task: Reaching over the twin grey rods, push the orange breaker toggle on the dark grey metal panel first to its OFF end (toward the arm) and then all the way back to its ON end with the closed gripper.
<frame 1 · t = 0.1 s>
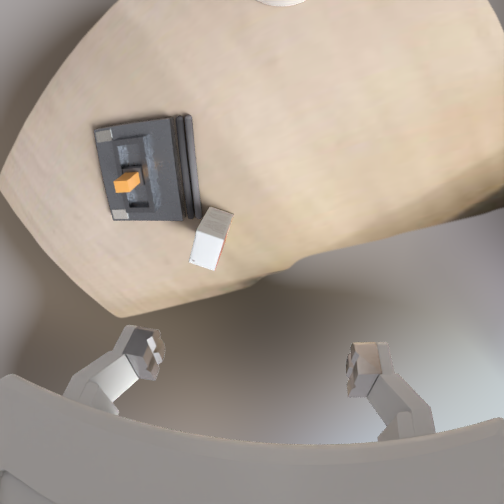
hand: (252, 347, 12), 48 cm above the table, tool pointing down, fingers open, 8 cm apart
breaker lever: (129, 180, 55), point 5 cm above the table, slide at 5.0 cm
twin grey rods: (190, 168, 58), on the table
breaker panel: (140, 171, 59), on the table
small box: (217, 224, 65), on the table
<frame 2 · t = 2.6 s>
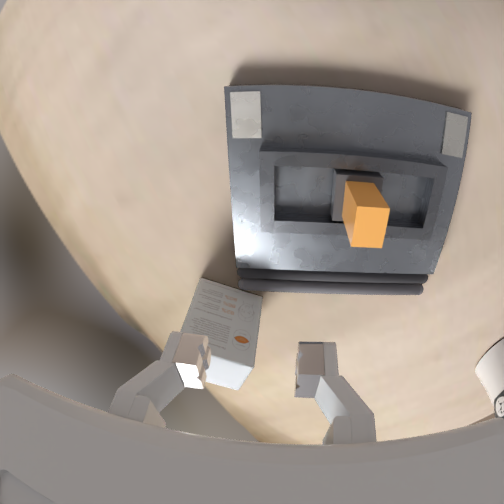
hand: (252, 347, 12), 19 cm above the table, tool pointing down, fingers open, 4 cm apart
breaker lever: (361, 208, 22), point 5 cm above the table, slide at 5.0 cm
twin grey rods: (336, 277, 33), on the table
breaker panel: (349, 182, 27), on the table
small box: (227, 300, 37), on the table
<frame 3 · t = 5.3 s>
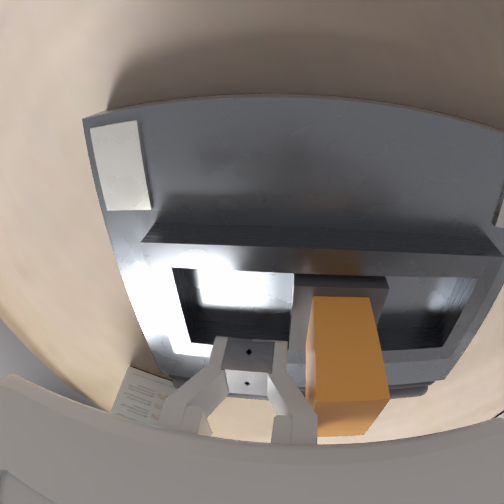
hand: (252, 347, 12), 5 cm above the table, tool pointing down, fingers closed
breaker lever: (338, 351, 11), point 6 cm above the table, slide at 4.9 cm, touching gripper
twin grey rods: (306, 381, 22), on the table
breaker panel: (326, 269, 16), on the table
small box: (167, 389, 27), on the table
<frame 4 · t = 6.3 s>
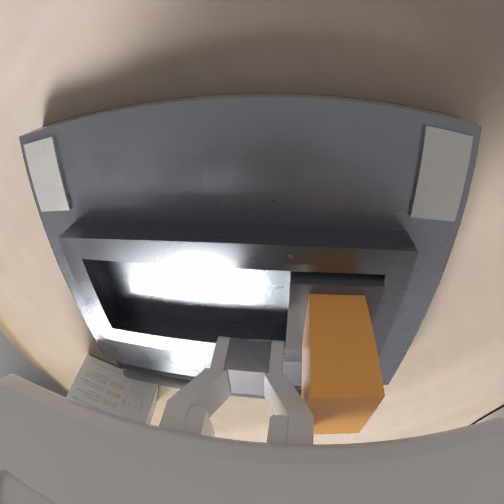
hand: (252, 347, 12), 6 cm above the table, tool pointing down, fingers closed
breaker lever: (334, 349, 12), point 6 cm above the table, slide at 0.0 cm, touching breaker panel, gripper
twin grey rods: (244, 376, 23), on the table
breaker panel: (234, 264, 17), on the table
small box: (124, 378, 27), on the table
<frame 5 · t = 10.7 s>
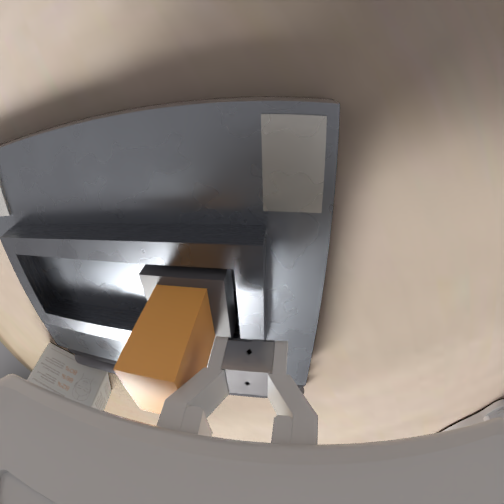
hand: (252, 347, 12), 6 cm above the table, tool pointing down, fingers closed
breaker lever: (177, 337, 13), point 5 cm above the table, slide at 0.4 cm, touching gripper
twin grey rods: (173, 366, 24), on the table
breaker panel: (136, 259, 18), on the table
small box: (82, 366, 28), on the table
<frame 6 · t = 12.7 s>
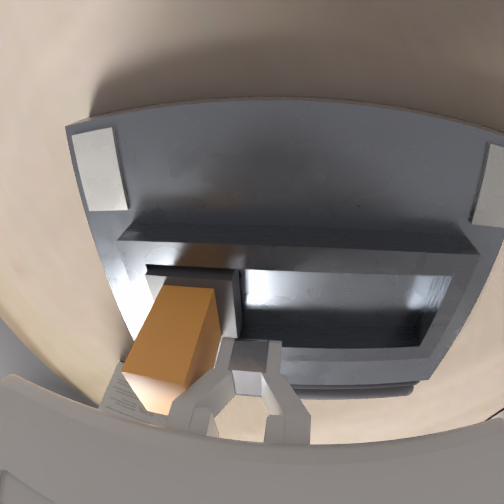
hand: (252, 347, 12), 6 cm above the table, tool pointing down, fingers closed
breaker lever: (184, 337, 13), point 5 cm above the table, slide at 10.0 cm, touching breaker panel, gripper
twin grey rods: (289, 378, 23), on the table
breaker panel: (300, 267, 16), on the table
small box: (156, 384, 27), on the table
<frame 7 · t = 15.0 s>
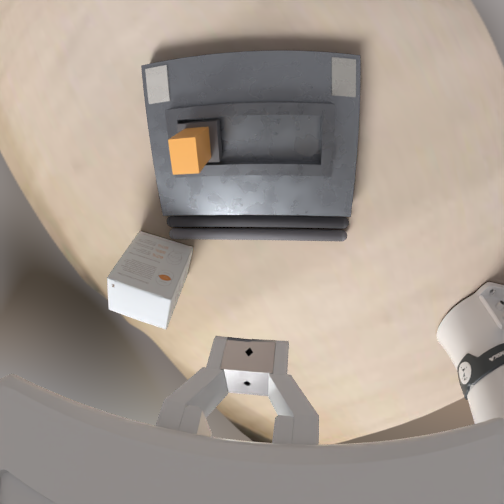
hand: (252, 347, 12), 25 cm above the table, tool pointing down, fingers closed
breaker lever: (193, 146, 26), point 6 cm above the table, slide at 10.0 cm, touching breaker panel
twin grey rods: (256, 224, 37), on the table
breaker panel: (252, 132, 30), on the table
small box: (164, 252, 41), on the table
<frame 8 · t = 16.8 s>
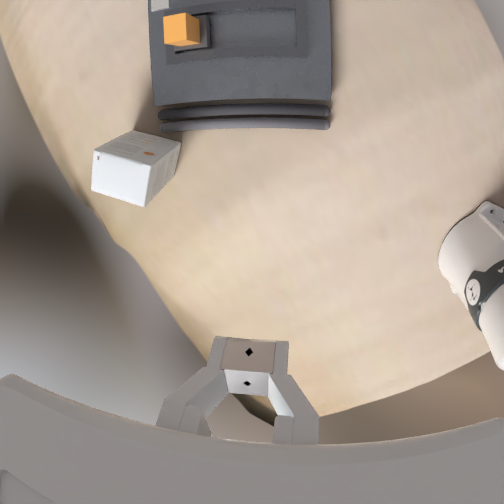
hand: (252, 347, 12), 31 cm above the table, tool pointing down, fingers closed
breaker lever: (185, 31, 25), point 5 cm above the table, slide at 10.0 cm, touching breaker panel
twin grey rods: (241, 115, 36), on the table
breaker panel: (238, 32, 29), on the table
small box: (154, 152, 40), on the table
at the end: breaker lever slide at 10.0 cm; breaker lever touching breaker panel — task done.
